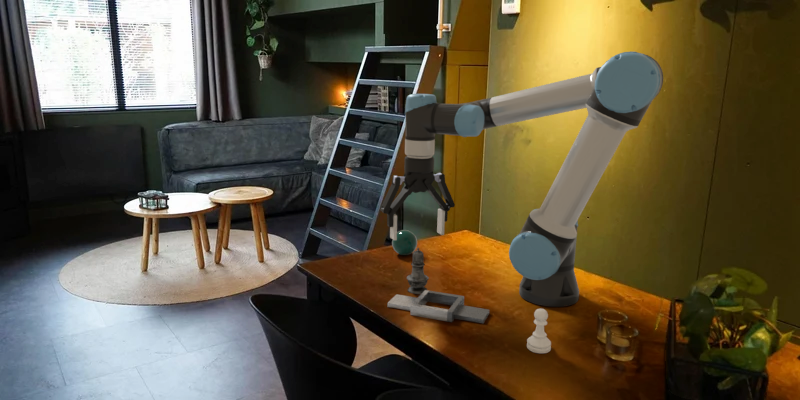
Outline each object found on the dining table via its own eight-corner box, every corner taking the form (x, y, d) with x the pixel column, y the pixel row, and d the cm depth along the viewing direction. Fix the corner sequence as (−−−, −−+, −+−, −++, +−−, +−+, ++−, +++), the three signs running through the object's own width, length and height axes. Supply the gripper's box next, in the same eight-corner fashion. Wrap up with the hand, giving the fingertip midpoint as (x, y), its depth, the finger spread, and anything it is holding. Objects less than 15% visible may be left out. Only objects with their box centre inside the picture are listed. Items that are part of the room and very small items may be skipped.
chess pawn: (522, 343, 123) (525, 305, 121) (543, 341, 125) (546, 303, 123) (533, 355, 119) (535, 315, 117) (555, 352, 120) (558, 313, 118)
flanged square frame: (491, 309, 140) (491, 300, 140) (481, 327, 131) (481, 317, 130) (399, 294, 149) (399, 285, 149) (383, 310, 140) (383, 300, 139)
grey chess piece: (426, 295, 149) (427, 251, 146) (404, 293, 150) (405, 250, 147) (430, 287, 155) (430, 244, 152) (408, 285, 156) (409, 243, 153)
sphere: (414, 259, 176) (414, 235, 174) (389, 257, 178) (389, 233, 176) (419, 251, 184) (419, 227, 182) (395, 249, 186) (395, 226, 184)
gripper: (455, 151, 152) (452, 227, 157) (368, 155, 143) (367, 236, 148) (469, 155, 145) (466, 235, 150) (378, 160, 136) (377, 245, 141)
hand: (417, 236), depth 149 cm, fingers open, 13 cm apart
